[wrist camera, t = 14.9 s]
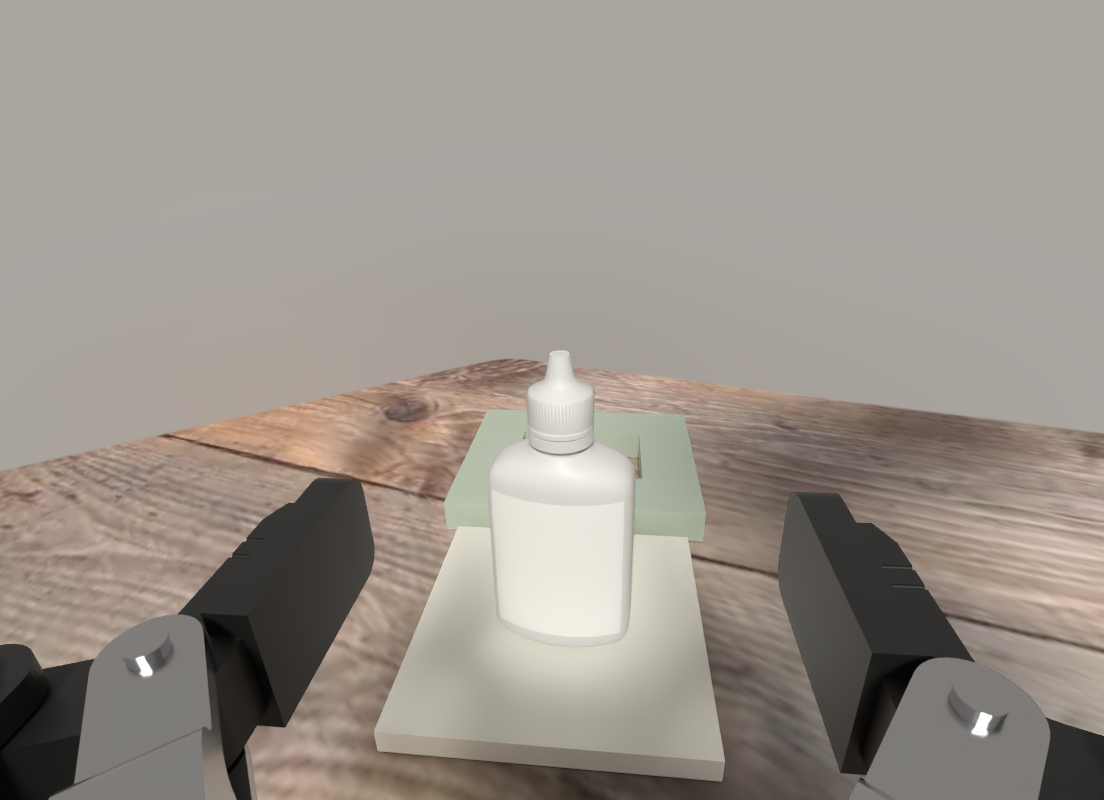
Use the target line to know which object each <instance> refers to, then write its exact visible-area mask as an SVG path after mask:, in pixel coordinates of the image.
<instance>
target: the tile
mask: <svg viewBox="0 0 1104 800" xmlns="http://www.w3.org/2000/svg"><path fill="white" fill-rule="evenodd" d="M374 736H375V741H376V746H377V750H378V751H381V752H393V753H404V754H415V755H427V756H438V757H449V758H460V759H472V760H483V761H494V762H506V763H517V764H528V765H540V766H551V767H562V768H573V769H585V770H596V771H607V772H619V773H630V774H641V775H653V776H664V777H675V778H686V779H698V780H709V781H720V782H722V780H723V773H724V766H725V758H724V752H723V746H722V740H721V734H720V728H719V722H718V716H717V710H716V704H715V698H714V692H713V686H712V680H711V674H710V668H709V662H708V656H707V650H706V644H705V638H704V632H703V626H702V620H701V614H700V608H699V602H698V596H697V590H696V584H695V578H694V572H693V566H692V560H691V554H690V548H689V542H688V537H676V536H655V535H634V544H633V567H632V591H631V609H630V619H629V626H628V630H627V632H626V634H625V636H624V637H623V638H622V639H621V640H619V641H617V642H615V643H611V644H606V645H600V646H590V647H566V646H556V645H550V644H546V643H541V642H538V641H534V640H531V639H528V638H526V637H523V636H521V635H518V634H516V633H514V632H512V631H510V630H509V629H507V628H506V627H504V626H503V625H502V624H501V622H500V621H499V620H498V618H497V612H496V600H495V587H494V574H493V560H492V547H491V533H490V528H485V527H464V526H458V529H457V531H456V534H455V536H454V538H453V541H452V543H451V546H450V548H449V551H448V553H447V555H446V558H445V560H444V563H443V565H442V568H441V570H440V572H439V575H438V577H437V580H436V582H435V584H434V587H433V589H432V592H431V594H430V597H429V599H428V601H427V604H426V606H425V609H424V611H423V614H422V616H421V618H420V621H419V623H418V626H417V628H416V631H415V633H414V635H413V638H412V640H411V643H410V645H409V648H408V650H407V652H406V655H405V657H404V660H403V662H402V664H401V667H400V669H399V672H398V674H397V677H396V679H395V681H394V684H393V686H392V689H391V691H390V694H389V696H388V698H387V701H386V703H385V706H384V708H383V711H382V713H381V715H380V718H379V720H378V723H377V725H376V728H375V730H374Z"/></svg>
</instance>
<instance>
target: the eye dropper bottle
mask: <svg viewBox="0 0 1104 800" xmlns="http://www.w3.org/2000/svg"><path fill="white" fill-rule="evenodd" d="M526 394H527V418H528V438H526V439H523V440H520V441H517V442H514V443H512V444H509V445H507V446H506V447H505V448H503V449H502V450H501V451H500V452H499V453H498V454H497V456H496V457H495V459H494V461H493V463H492V465H491V467H490V469H489V472H488V502H489V518H490V533H491V547H492V560H493V574H494V587H495V600H496V612H497V618H498V620H499V621H500V622H501V624H502V625H503V626H504V627H506V628H507V629H509V630H510V631H512V632H514V633H516V634H518V635H521V636H523V637H526V638H528V639H531V640H534V641H538V642H541V643H546V644H550V645H556V646H566V647H590V646H600V645H606V644H611V643H615V642H617V641H619V640H621V639H622V638H623V637H624V636H625V634H626V632H627V630H628V626H629V619H630V609H631V591H632V567H633V544H634V518H635V484H636V476H635V468H634V465H633V464H632V462H631V460H630V459H629V458H628V457H627V456H625V455H624V454H623V453H621V452H620V451H618V450H616V449H614V448H612V447H610V446H608V445H606V444H604V443H601V442H599V441H596V440H594V390H593V388H592V387H591V386H590V385H589V384H587V383H585V382H583V381H580V380H577V379H576V378H575V375H574V372H573V367H572V362H571V357H570V353H569V352H567V351H563V350H559V351H553V352H551V353H550V355H549V361H548V367H547V372H546V377H545V378H544V380H542V381H539V382H537V383H535V384H533V385H532V386H531V387H530V388H529V389H528V390H527V393H526Z"/></svg>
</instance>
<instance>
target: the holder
mask: <svg viewBox="0 0 1104 800" xmlns="http://www.w3.org/2000/svg"><path fill="white" fill-rule="evenodd" d="M526 438H528V418H527V410H490V409H488V411H487V413H486V415H485V417H484V419H483V422H482V424H481V426H480V428H479V430H478V432H477V434H476V436H475V438H474V440H473V442H472V445H471V447H470V449H469V451H468V453H467V455H466V457H465V459H464V461H463V463H462V465H461V468H460V470H459V472H458V474H457V476H456V478H455V480H454V482H453V484H452V486H451V488H450V490H449V493H448V495H447V497H446V499H445V501H444V508H445V517H446V526H447V530H457V529H458V526H464V527H485V528H490V518H489V502H488V472H489V469H490V467H491V465H492V463H493V461H494V459H495V457H496V456H497V454H498V453H499V452H500V451H501V450H502V449H503V448H505V447H506V446H507V445H509V444H512V443H514V442H517V441H520V440H523V439H526ZM594 440H596V441H599V442H601V443H604V444H606V445H608V446H610V447H612V448H614V449H616V450H618V451H620V452H621V453H623V454H624V455H625V456H627V457H628V458H638V461H639V479H636V484H635V518H634V535H655V536H676V537H688V541H698V542H704V532H705V522H706V510H705V505H704V501H703V496H702V492H701V487H700V483H699V479H698V474H697V470H696V465H695V461H694V457H693V452H692V448H691V443H690V439H689V434H688V430H687V426H686V421H685V417H684V415H682V414H644V413H605V412H594Z"/></svg>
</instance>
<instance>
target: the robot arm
mask: <svg viewBox="0 0 1104 800" xmlns="http://www.w3.org/2000/svg"><path fill="white" fill-rule="evenodd" d="M232 554H233V556H232V558H228V559H227V560H226V561H225V562H224V563H223V565H222V566H221V567H220V568H219V569H218V570H217V571H216V572H215V573H214V575H213V576H212V577H211V578H210V579H209V580H208V581H207V582H206V583H205V585H204V586H203V587H202V588H201V589H200V590H199V591H198V592H197V593H196V595H195V596H194V597H193V598H192V599H191V600H190V601H189V602H188V603H187V605H186V606H185V607H184V608H183V609H182V610H181V611H180V612H179V613H178V615H167V616H162V617H157V618H154V619H151V620H148V621H146V622H143V623H141V624H138V625H136V626H134V627H132V628H130V629H129V630H127V631H125V632H124V633H122V634H121V635H119V636H118V637H116V638H115V639H114V640H112V641H111V642H110V643H109V644H108V645H107V646H106V647H105V648H104V649H103V650H102V651H101V652H100V653H99V654H98V656H97V657H96V658H95V659H92V660H87V661H82V662H76V663H71V664H66V665H61V666H56V667H51V668H46V669H42V668H41V666H40V665H39V663H38V661H37V659H36V657H35V656H34V654H33V652H32V651H31V649H30V648H28V647H27V646H24V645H20V644H4V645H0V800H257V794H256V787H255V780H254V774H253V767H252V760H251V754H250V750H249V747H248V745H247V741H248V739H249V738H250V736H251V734H252V733H253V731H254V729H255V728H256V726H257V725H260V726H272V727H286V725H287V723H288V722H289V720H290V718H291V716H292V714H293V713H294V711H295V709H296V707H297V705H298V704H299V702H300V700H301V698H302V696H303V695H304V693H305V691H306V689H307V687H308V686H309V684H310V682H311V680H312V678H313V677H314V675H315V673H316V671H317V669H318V668H319V666H320V664H321V662H322V660H323V658H324V657H325V655H326V653H327V651H328V649H329V648H330V646H331V644H332V642H333V640H334V639H335V637H336V635H337V633H338V631H339V630H340V628H341V626H342V624H343V622H344V621H345V619H346V617H347V615H348V613H349V612H350V610H351V608H352V606H353V604H354V603H355V601H356V599H357V597H358V595H359V594H360V592H361V590H362V588H363V586H364V585H365V583H366V581H367V579H368V577H369V575H370V573H371V570H372V566H373V561H374V541H373V536H372V531H371V526H370V521H369V516H368V511H367V507H366V502H365V497H364V492H363V488H362V485H361V483H360V482H359V481H358V480H357V479H337V478H317V479H315V480H314V481H313V482H312V483H311V484H310V485H309V487H308V488H307V489H306V490H305V491H304V492H303V494H302V495H301V496H300V497H299V498H298V499H297V501H296V502H295V503H288V504H286V505H284V506H283V507H281V508H280V509H278V510H277V511H275V512H274V513H272V514H270V515H269V516H267V517H266V518H264V519H263V520H262V521H261V522H260V523H259V525H258V526H257V527H256V528H255V529H254V530H253V531H252V532H251V533H250V535H249V536H248V537H247V540H246V542H242V543H241V545H240V546H239V547H238V548H237V549H236V550H235V551H234V552H233V553H232ZM778 577H779V586H780V592H781V596H782V599H783V602H784V605H785V608H786V611H787V614H788V617H789V620H790V623H791V626H792V629H793V632H794V635H795V638H796V641H797V644H798V647H799V650H800V653H801V656H802V659H803V662H804V665H805V668H806V671H807V674H808V677H809V680H810V683H811V686H812V689H813V692H814V695H815V698H816V701H817V704H818V707H819V710H820V713H821V716H822V719H823V722H824V725H825V728H826V731H827V734H828V737H829V740H830V743H831V746H832V749H833V752H834V755H835V758H836V761H837V764H838V767H839V770H840V773H847V774H860V775H866V777H865V779H862V778H860V779H859V781H858V782H857V784H856V785H855V787H854V789H853V791H852V793H851V795H850V797H849V799H848V800H1104V736H1102V735H1098V734H1095V733H1092V732H1089V731H1085V730H1082V729H1079V728H1075V727H1072V726H1069V725H1066V724H1063V723H1060V722H1057V721H1054V720H1051V719H1049V718H1047V717H1045V715H1044V714H1043V712H1042V711H1041V709H1040V708H1039V706H1038V705H1037V704H1036V703H1035V701H1034V700H1033V699H1032V698H1031V697H1030V696H1029V695H1028V694H1027V693H1026V692H1025V691H1024V690H1023V689H1022V688H1020V687H1019V686H1018V685H1016V684H1015V683H1014V682H1012V681H1011V680H1009V679H1008V678H1006V677H1005V676H1003V675H1001V674H1000V673H998V672H996V671H994V670H992V669H990V668H987V667H985V666H983V665H980V664H977V663H975V662H974V660H973V659H972V657H971V656H970V654H969V653H968V651H967V649H966V648H965V646H964V645H963V643H962V642H961V640H960V639H959V637H958V636H957V634H956V633H955V631H954V630H953V628H952V626H951V625H950V623H949V622H948V620H947V619H946V617H945V616H944V614H943V613H942V611H941V610H940V608H939V606H938V605H937V603H936V602H935V600H934V599H933V597H932V596H931V594H930V593H929V591H928V590H925V588H924V583H923V582H922V580H921V579H920V577H919V576H918V574H917V573H916V571H915V570H912V565H911V563H910V562H909V560H908V559H907V557H906V556H905V554H904V553H903V551H902V550H901V548H900V547H899V545H898V544H897V543H896V542H895V541H894V540H893V539H891V538H890V537H889V536H888V535H886V534H885V533H884V532H882V531H881V530H880V529H879V528H877V527H876V526H875V525H873V524H872V523H856V522H855V520H854V518H853V517H852V515H851V513H850V511H849V510H848V508H847V506H846V505H845V503H844V501H843V499H842V498H841V496H840V495H839V494H837V493H804V492H793V493H792V494H791V495H790V497H789V500H788V505H787V512H786V518H785V524H784V531H783V537H782V544H781V550H780V556H779V565H778Z"/></svg>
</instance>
